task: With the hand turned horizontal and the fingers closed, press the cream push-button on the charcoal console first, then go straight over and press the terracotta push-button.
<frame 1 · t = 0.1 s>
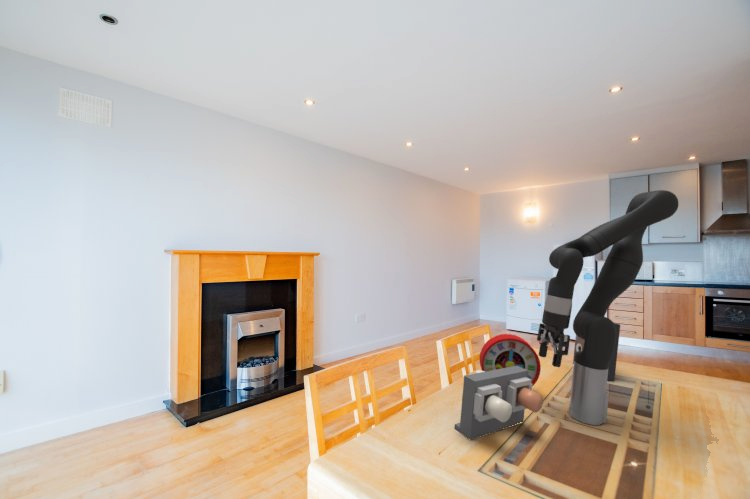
hand: (548, 361, 108), 17 cm above the table, tool pointing down, fingers open, 8 cm apart
console: (492, 427, 99), on the table
cream button: (498, 408, 90), point 10 cm above the table, slide at 0.0 cm
terracotta button: (530, 399, 96), point 10 cm above the table, slide at 0.0 cm
toy clock: (506, 390, 125), on the table
supplement bottle: (479, 401, 115), on the table
cereal box: (592, 373, 150), on the table
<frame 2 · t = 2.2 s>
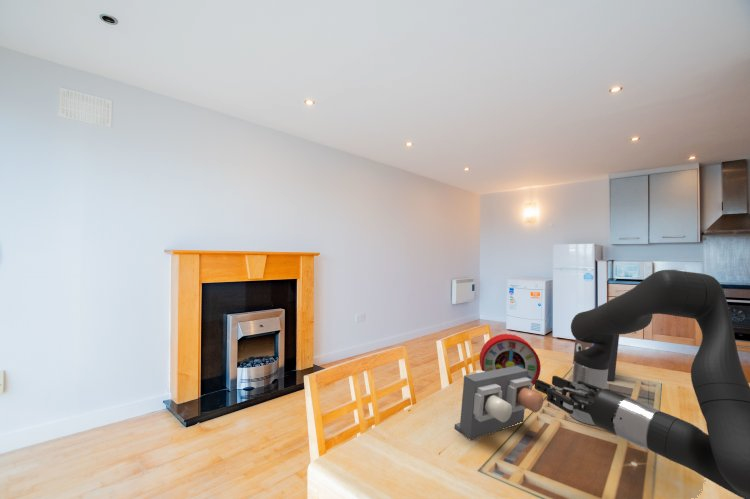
hand: (544, 381, 79), 22 cm above the table, tool horizontal, fingers open, 5 cm apart
nothing on the table moved.
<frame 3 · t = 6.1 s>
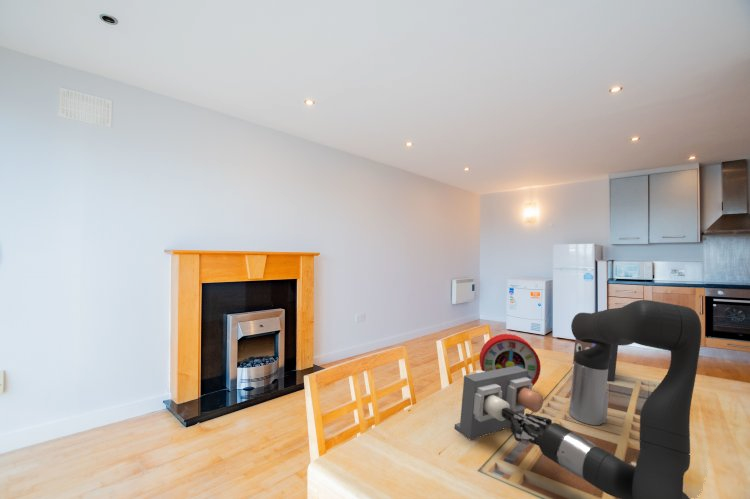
hand: (503, 411, 88), 10 cm above the table, tool horizontal, fingers closed
cream button: (496, 407, 90), point 10 cm above the table, slide at 0.6 cm, touching gripper
everything else where it was.
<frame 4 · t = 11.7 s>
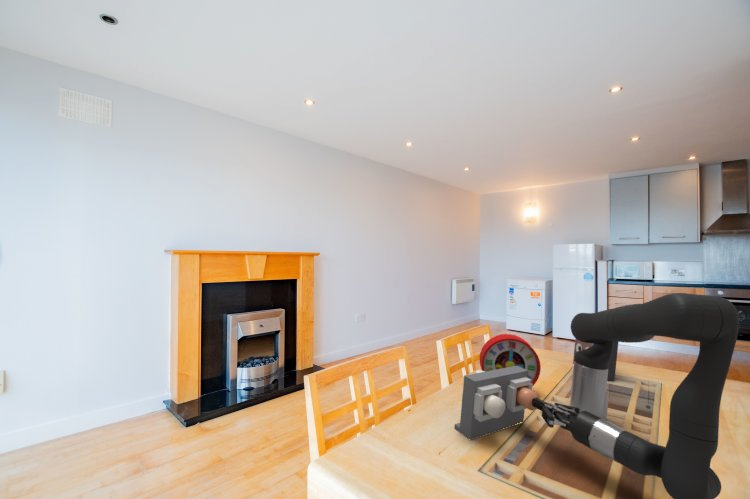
hand: (533, 401, 95), 10 cm above the table, tool horizontal, fingers closed
cream button: (492, 404, 92), point 10 cm above the table, slide at 2.1 cm
terracotta button: (526, 397, 97), point 10 cm above the table, slide at 1.2 cm, touching gripper
everything else where it was.
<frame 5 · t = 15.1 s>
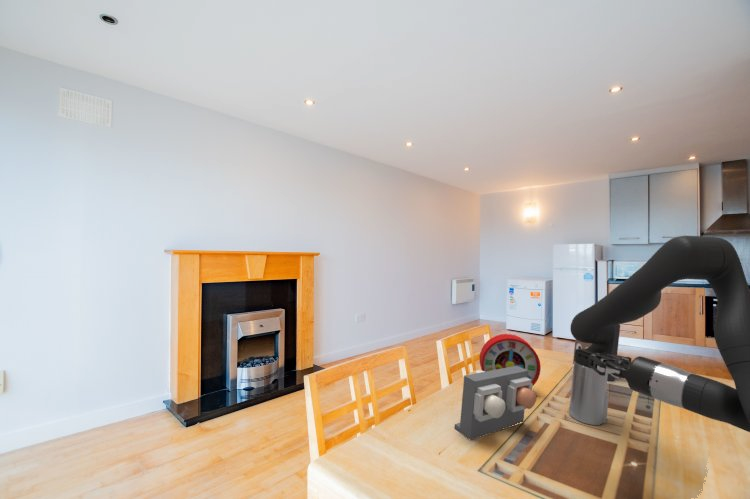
hand: (577, 352, 86), 27 cm above the table, tool horizontal, fingers closed
terracotta button: (523, 396, 98), point 10 cm above the table, slide at 2.1 cm
everything else where it was.
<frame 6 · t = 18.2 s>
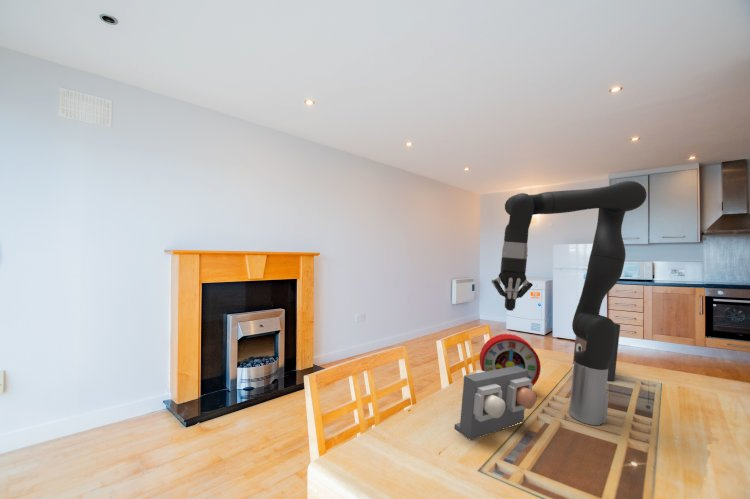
hand: (509, 309, 111), 32 cm above the table, tool pointing down, fingers closed
nothing on the table moved.
at the end: cream button slide at 2.1 cm; terracotta button slide at 2.1 cm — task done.
